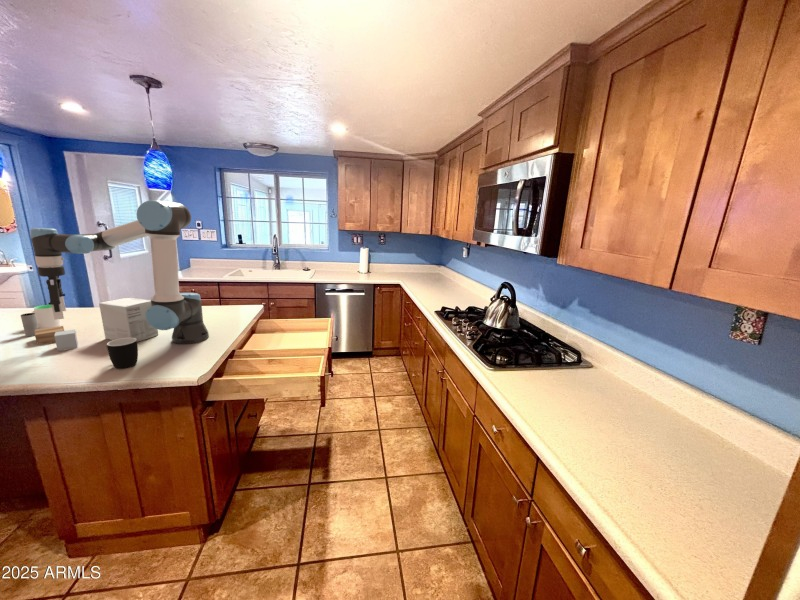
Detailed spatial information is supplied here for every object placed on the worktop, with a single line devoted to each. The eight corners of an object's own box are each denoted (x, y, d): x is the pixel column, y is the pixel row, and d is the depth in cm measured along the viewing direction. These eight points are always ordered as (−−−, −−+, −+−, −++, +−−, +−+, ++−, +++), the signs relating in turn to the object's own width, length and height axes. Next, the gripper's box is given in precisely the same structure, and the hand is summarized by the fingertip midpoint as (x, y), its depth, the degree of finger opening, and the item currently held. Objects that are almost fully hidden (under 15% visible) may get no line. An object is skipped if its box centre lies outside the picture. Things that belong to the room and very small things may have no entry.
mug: (145, 363, 128) (141, 340, 125) (118, 372, 120) (113, 347, 117) (128, 357, 132) (125, 334, 130) (102, 365, 125) (97, 341, 122)
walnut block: (66, 340, 147) (64, 330, 146) (37, 345, 140) (34, 334, 139) (65, 335, 153) (63, 325, 152) (37, 339, 146) (34, 329, 145)
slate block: (77, 348, 139) (74, 333, 138) (57, 351, 135) (54, 335, 134) (78, 343, 143) (75, 329, 142) (58, 346, 139) (55, 332, 138)
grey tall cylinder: (24, 335, 150) (19, 314, 148) (38, 332, 154) (34, 312, 152) (26, 337, 148) (21, 316, 145) (40, 334, 152) (36, 314, 149)
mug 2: (32, 331, 155) (28, 311, 152) (23, 329, 157) (18, 309, 155) (65, 325, 166) (60, 306, 163) (56, 322, 168) (51, 304, 166)
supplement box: (159, 335, 158) (154, 300, 154) (131, 344, 146) (125, 306, 141) (134, 330, 162) (128, 296, 158) (104, 339, 150) (97, 302, 146)
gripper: (61, 269, 125) (71, 321, 130) (65, 261, 142) (74, 307, 147) (32, 271, 119) (44, 324, 124) (40, 262, 137) (50, 309, 142)
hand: (60, 315), depth 136 cm, fingers open, 13 cm apart
